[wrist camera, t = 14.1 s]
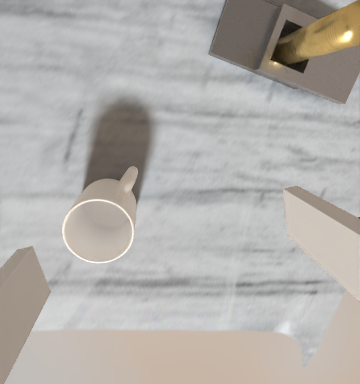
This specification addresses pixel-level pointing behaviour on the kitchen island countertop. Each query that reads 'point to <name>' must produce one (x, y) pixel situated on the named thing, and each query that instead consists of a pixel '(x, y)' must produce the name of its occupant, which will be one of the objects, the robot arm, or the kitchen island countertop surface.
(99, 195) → the mug
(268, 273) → the kitchen island countertop surface
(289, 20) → the slotted metal plate
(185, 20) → the kitchen island countertop surface
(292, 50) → the pin
